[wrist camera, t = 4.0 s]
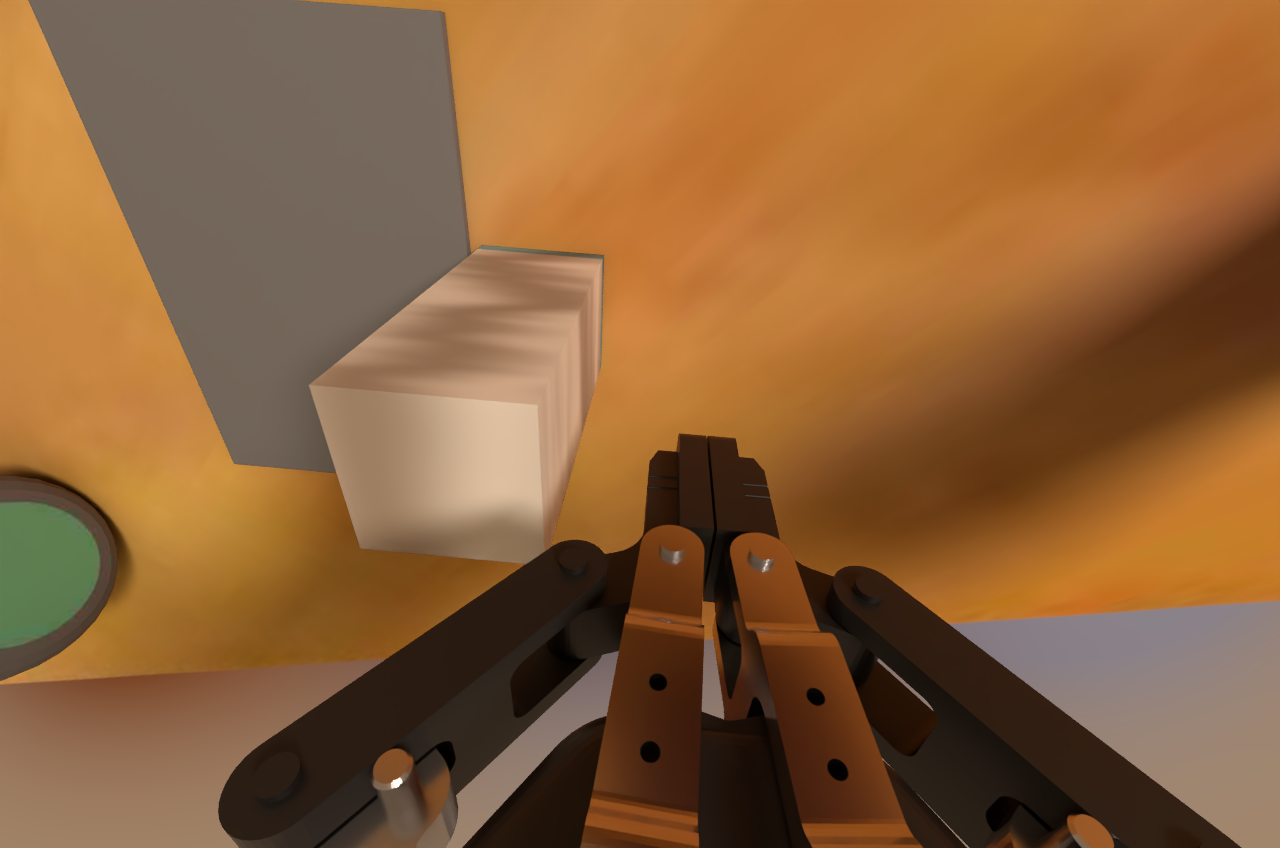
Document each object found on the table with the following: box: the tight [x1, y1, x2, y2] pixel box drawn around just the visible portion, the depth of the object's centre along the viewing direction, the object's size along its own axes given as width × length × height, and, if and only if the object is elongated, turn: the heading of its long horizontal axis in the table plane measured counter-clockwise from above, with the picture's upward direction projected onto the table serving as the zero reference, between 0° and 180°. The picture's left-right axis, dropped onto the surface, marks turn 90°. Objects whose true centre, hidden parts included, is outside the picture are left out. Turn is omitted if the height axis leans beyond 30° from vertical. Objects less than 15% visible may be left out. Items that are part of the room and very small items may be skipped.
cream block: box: [309, 245, 604, 564], centre depth 18 cm, size 5×5×12 cm
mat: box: [29, 0, 471, 473], centre depth 23 cm, size 14×20×1 cm
